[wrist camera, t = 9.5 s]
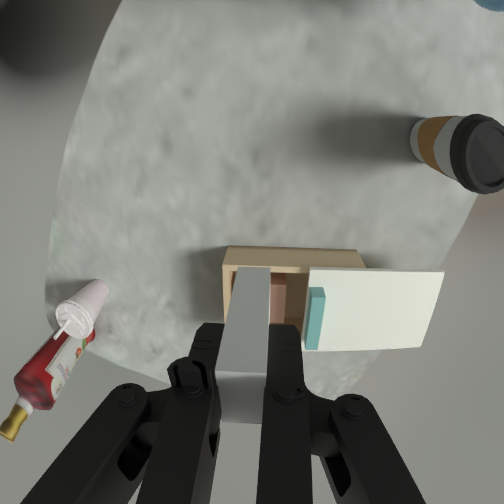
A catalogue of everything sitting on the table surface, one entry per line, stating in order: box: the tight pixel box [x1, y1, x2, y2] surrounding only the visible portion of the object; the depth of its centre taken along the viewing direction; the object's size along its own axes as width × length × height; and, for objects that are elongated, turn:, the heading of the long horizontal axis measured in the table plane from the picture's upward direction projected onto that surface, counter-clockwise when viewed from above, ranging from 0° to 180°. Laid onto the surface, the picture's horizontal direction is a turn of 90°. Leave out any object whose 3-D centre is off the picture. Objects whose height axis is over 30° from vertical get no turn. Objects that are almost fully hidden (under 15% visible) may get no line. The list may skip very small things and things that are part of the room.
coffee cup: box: [410, 114, 504, 194], centre depth 30 cm, size 8×8×15 cm
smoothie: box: [53, 279, 109, 340], centre depth 42 cm, size 6×6×14 cm
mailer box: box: [222, 246, 367, 337], centre depth 44 cm, size 12×18×6 cm, turn 89°
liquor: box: [0, 326, 95, 443], centre depth 39 cm, size 7×7×28 cm
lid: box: [301, 267, 445, 351], centre depth 39 cm, size 13×19×3 cm
